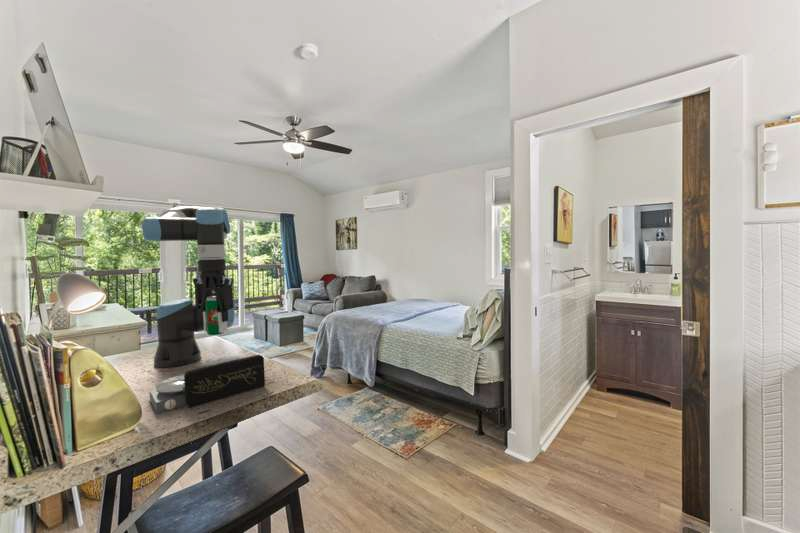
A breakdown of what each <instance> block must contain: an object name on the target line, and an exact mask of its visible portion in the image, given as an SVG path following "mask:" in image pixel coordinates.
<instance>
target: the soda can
mask: <svg viewBox="0 0 800 533" xmlns="http://www.w3.org/2000/svg"><path fill="white" fill-rule="evenodd" d="M205 307H206V325H207V332H206V334H208V335H209V336H216V335H222V334H224V333H225V332H222V333H219V323H218V311H220V308H219V305H218V301H217V297H216V296H208V297H206V300H205Z"/></svg>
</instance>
